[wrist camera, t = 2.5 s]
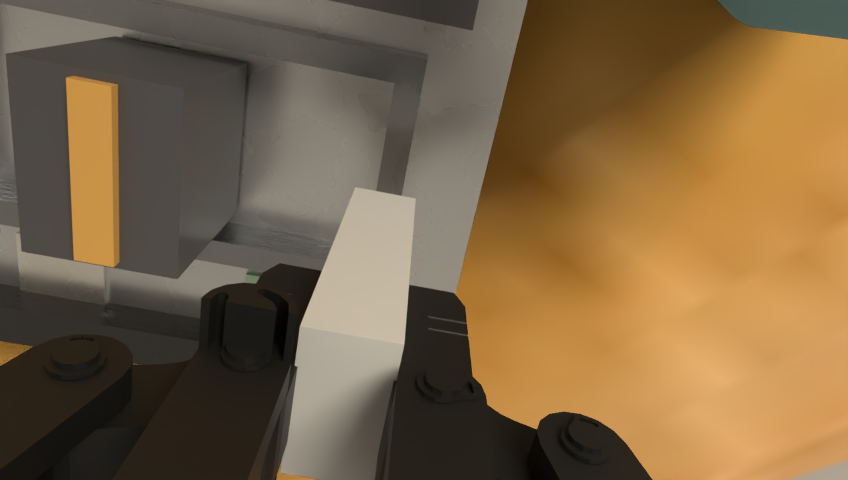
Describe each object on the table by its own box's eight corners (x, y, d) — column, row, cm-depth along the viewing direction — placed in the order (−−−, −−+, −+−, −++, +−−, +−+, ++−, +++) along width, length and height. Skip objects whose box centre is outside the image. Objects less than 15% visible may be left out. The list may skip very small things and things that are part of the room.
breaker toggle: (115, 36, 18) (-4, 55, 13) (247, 62, 18) (179, 91, 13) (117, 189, 20) (14, 256, 15) (236, 212, 20) (172, 284, 15)
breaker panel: (-133, -263, 17) (-270, -323, 14) (544, -109, 18) (569, -130, 15) (-55, 285, 24) (-134, 333, 21) (429, 369, 25) (429, 427, 22)
